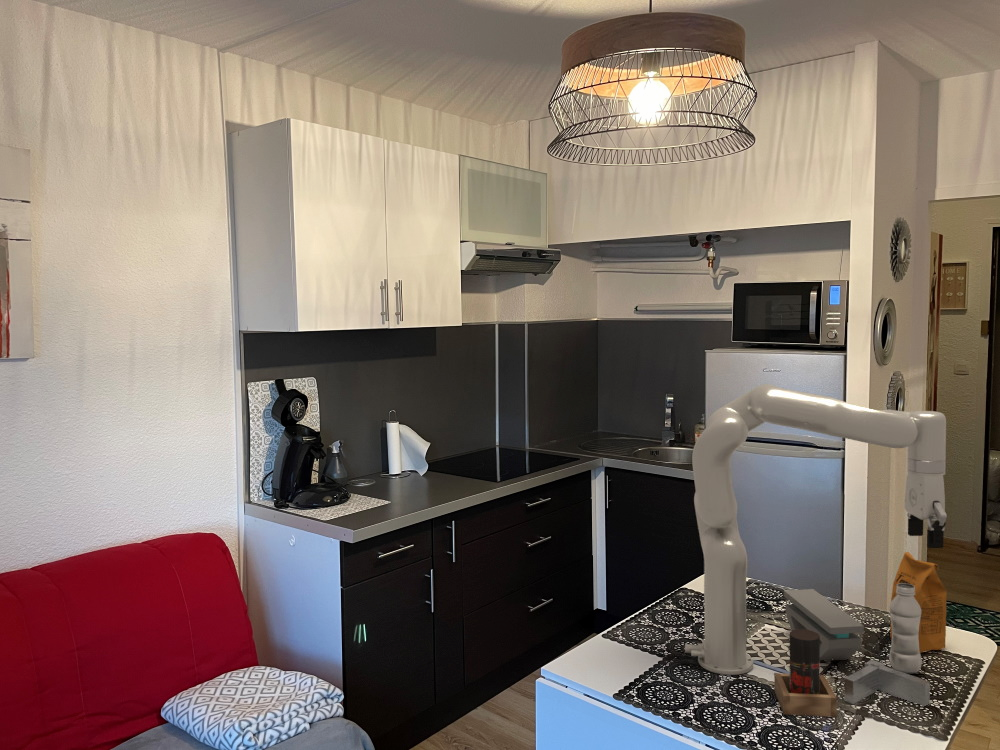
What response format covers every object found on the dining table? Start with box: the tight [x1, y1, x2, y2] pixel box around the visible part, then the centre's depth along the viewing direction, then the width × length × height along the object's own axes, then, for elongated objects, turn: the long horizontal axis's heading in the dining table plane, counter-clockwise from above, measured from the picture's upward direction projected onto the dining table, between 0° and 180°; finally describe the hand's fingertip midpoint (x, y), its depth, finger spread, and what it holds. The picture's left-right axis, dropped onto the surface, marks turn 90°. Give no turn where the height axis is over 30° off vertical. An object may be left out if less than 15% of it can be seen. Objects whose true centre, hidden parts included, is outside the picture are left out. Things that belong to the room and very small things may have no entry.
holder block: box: [773, 672, 838, 718], centre depth 168 cm, size 10×10×4 cm
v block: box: [843, 659, 931, 706], centre depth 172 cm, size 17×11×5 cm
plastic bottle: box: [888, 583, 923, 675], centre depth 181 cm, size 6×7×20 cm
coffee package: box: [889, 551, 948, 654], centre depth 196 cm, size 10×12×22 cm
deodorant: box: [789, 629, 821, 694], centre depth 168 cm, size 6×6×15 cm
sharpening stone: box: [783, 588, 865, 661], centre depth 194 cm, size 25×8×11 cm, turn 4°
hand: (925, 541), depth 179 cm, fingers open, 9 cm apart
